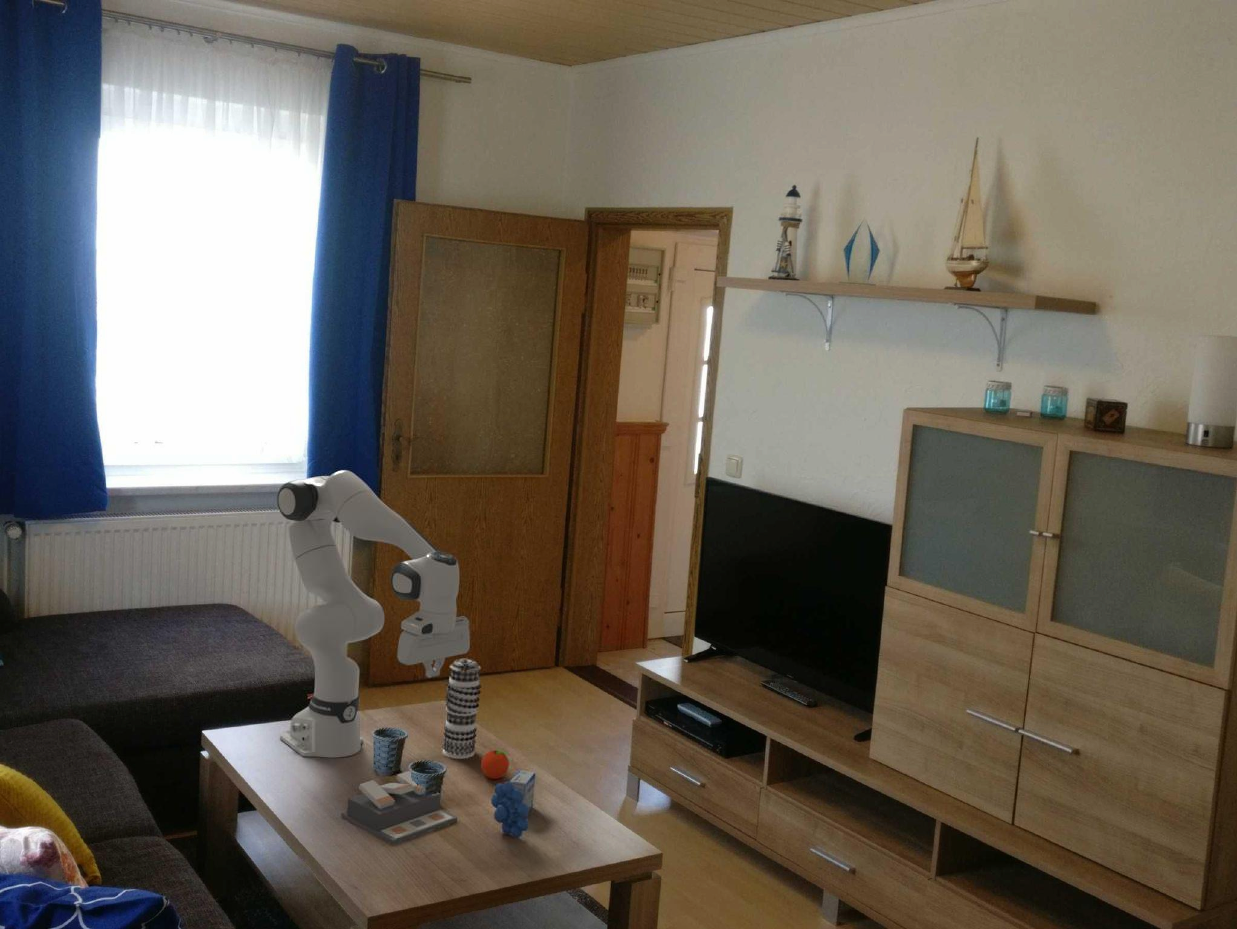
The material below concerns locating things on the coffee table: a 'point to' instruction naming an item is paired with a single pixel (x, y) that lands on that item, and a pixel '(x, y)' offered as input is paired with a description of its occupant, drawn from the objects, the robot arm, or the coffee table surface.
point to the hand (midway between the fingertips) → (432, 676)
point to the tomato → (495, 764)
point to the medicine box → (525, 786)
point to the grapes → (510, 809)
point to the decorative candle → (461, 709)
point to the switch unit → (398, 816)
